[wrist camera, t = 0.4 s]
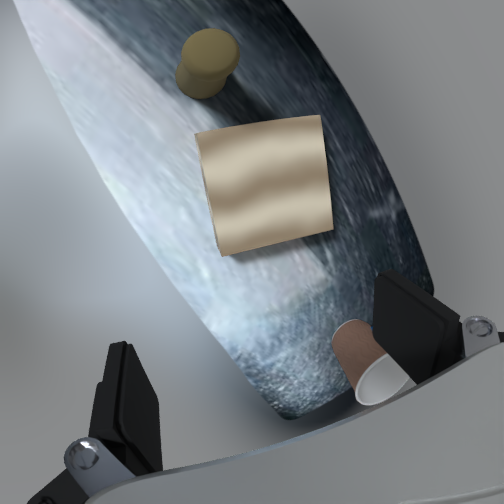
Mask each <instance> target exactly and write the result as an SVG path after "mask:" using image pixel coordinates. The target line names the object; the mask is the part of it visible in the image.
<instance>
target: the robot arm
mask: <svg viewBox="0 0 504 504" xmlns="http://www.w3.org/2000/svg"><path fill="white" fill-rule="evenodd" d="M459 319H460V315H458V314H457V313H456V312H454V311H453V310H451V309H450V308H449V307H447V306H446V305H444V304H443V303H441V302H440V301H439V300H437V299H436V298H434V297H433V296H432V295H430V294H429V293H427V292H426V291H424V290H423V289H421V288H420V287H418V286H417V285H416V284H414V283H413V282H411V281H410V280H408V279H407V278H405V277H404V276H402V275H401V274H399V273H398V272H396V271H395V270H393V269H390V270H387V271H384V272H380V273H379V274H378V276H377V278H375V284H374V311H373V328H372V334H373V338H374V340H375V341H376V342H377V343H378V344H379V345H380V346H381V347H382V348H383V349H384V350H385V351H386V352H387V353H388V354H389V356H390V357H391V358H392V359H393V360H394V361H395V362H396V363H397V364H398V365H399V366H400V367H401V368H402V369H403V370H404V371H405V372H406V373H407V375H408V376H409V377H410V378H411V379H412V380H413V381H414V382H415V383H416V384H417V385H416V386H414V387H413V388H411V389H409V390H407V391H405V392H403V393H401V394H399V395H397V396H395V397H393V398H391V399H389V400H387V401H385V402H382V403H380V404H378V405H376V406H374V407H372V408H369V409H367V410H365V411H363V412H360V413H358V414H356V415H354V416H351V417H349V418H346V419H344V420H341V421H339V422H337V423H334V424H331V425H329V426H326V427H324V428H321V429H318V430H315V431H313V432H310V433H307V434H304V435H302V436H299V437H296V438H293V439H290V440H287V441H283V442H280V443H277V444H274V445H271V446H267V447H264V448H261V449H257V450H253V451H250V452H246V453H242V454H238V455H235V456H230V457H226V458H222V459H217V460H213V461H209V462H204V463H200V464H195V465H190V466H185V467H180V468H175V469H169V470H164V471H163V465H162V452H161V438H160V419H159V402H158V398H157V395H156V393H155V391H154V389H153V387H152V385H151V383H150V381H149V379H148V377H147V375H146V373H145V371H144V369H143V367H142V365H141V362H140V360H139V358H138V356H137V353H136V351H135V349H134V347H133V345H132V344H127V342H126V341H122V342H117V343H112V344H110V346H109V351H108V355H107V360H106V366H105V370H104V376H103V381H102V382H99V383H98V384H97V388H96V393H95V398H94V404H93V410H92V416H91V422H90V428H89V435H88V437H84V438H80V439H78V440H76V441H74V442H72V443H71V444H70V445H69V446H68V448H67V449H66V451H65V454H64V464H65V466H66V469H65V470H64V471H63V472H62V473H61V474H59V475H58V476H57V477H56V478H55V479H53V480H52V481H51V482H50V483H49V484H47V485H46V486H45V487H44V488H43V489H42V490H40V491H39V492H38V493H37V494H35V495H34V496H33V497H32V498H31V499H30V500H29V501H28V503H27V504H504V332H497V328H496V326H495V324H494V323H493V322H492V321H491V320H489V319H488V318H485V317H482V316H471V317H468V318H466V319H465V320H464V321H463V323H461V322H459Z"/></svg>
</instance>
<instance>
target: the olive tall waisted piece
mask: <svg viewBox="0 0 504 504" xmlns="http://www.w3.org/2000/svg"><path fill="white" fill-rule="evenodd" d="M181 57H182V61H181V62H180V64H179V65H178V67H177V70H176V74H175V75H176V83H177V85H178V87H179V89H180V90H181V91H182V92H183V93H184V94H185V95H187V96H189V97H191V98H196V99H206V98H209V97H212V96H214V95H216V94H217V93H218V92H219V91H221V89H222V88H223V86H224V85H225V82H226V78H227V76H228V75H229V74H231V73H232V72H233V71H234V69H235V68H236V66H237V65H238V62H239V58H240V52H239V46H238V44H237V42H236V40H235V39H234V38H233V37H232V36H231V35H230V34H229V33H227V32H225V31H223V30H220V29H215V28H211V29H203V30H201V31H198V32H196V33H195V34H193V35H192V36H190V37H189V38H188V39H187V41H186V42H185V44H184V45H183V49H182V52H181Z"/></svg>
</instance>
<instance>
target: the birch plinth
mask: <svg viewBox="0 0 504 504" xmlns="http://www.w3.org/2000/svg"><path fill="white" fill-rule="evenodd" d="M194 135H195V140H196V145H197V150H198V155H199V161H200V166H201V171H202V176H203V181H204V186H205V191H206V196H207V200H208V205H209V210H210V215H211V220H212V224H213V229H214V234H215V238H216V243H217V247H218V249H219V251H220V253H221V256H222V257H223V256H227V255H232V254H236V253H240V252H244V251H248V250H252V249H256V248H260V247H264V246H268V245H272V244H276V243H280V242H284V241H288V240H292V239H296V238H300V237H305V236H309V235H313V234H317V233H321V232H325V231H329V230H333V219H332V208H331V198H330V188H329V179H328V170H327V162H326V154H325V146H324V139H323V131H322V125H321V118H320V115H313V116H304V117H295V118H286V119H278V120H271V121H264V122H257V123H250V124H244V125H238V126H232V127H226V128H221V129H216V130H210V131H205V132H200V133H196V134H194Z"/></svg>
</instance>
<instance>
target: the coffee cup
mask: <svg viewBox="0 0 504 504" xmlns="http://www.w3.org/2000/svg"><path fill="white" fill-rule="evenodd" d="M372 328H373V327H372V326H371V325H369V324H368V323H366V322H364V321H362V320H359V319H353V320H349V321H347V322H345V323H343V324H342V325H341V326H340V327H339V328H338V329H337V330H336V331H335V333H334V335H333V337H332V341H331V344H332V348H333V351H334V353H335V355H336V357H337V359H338V361H339V363H340V365H341V367H342V368H343V370H344V372H345V374H346V376H347V378H348V380H349V382H350V384H351V385H352V387H353V389H354V391H355V395H356V399H357V401H359V402H360V403H361V404H364V405H374V404H377V403H380V402H382V401H384V400H386V399H388V398H390V397H391V396H393V395H394V394H395V393H396V392H397V391H399V389H401V388H402V386H403V385H404V384H405V383H406V382H407V380H408V379H409V376H408V375H407V373H406V372H405V371H404V370H403V369H402V368H401V367H400V366H399V365H398V364H397V363H396V362H395V361H394V360H393V359H392V358H391V357H390V356H389V354H388V353H387V352H386V351H385V350H384V349H383V348H382V347H381V346H380V345H379V344H378V343H377V342H376V341H375V340H374V338H373V334H372Z"/></svg>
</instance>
